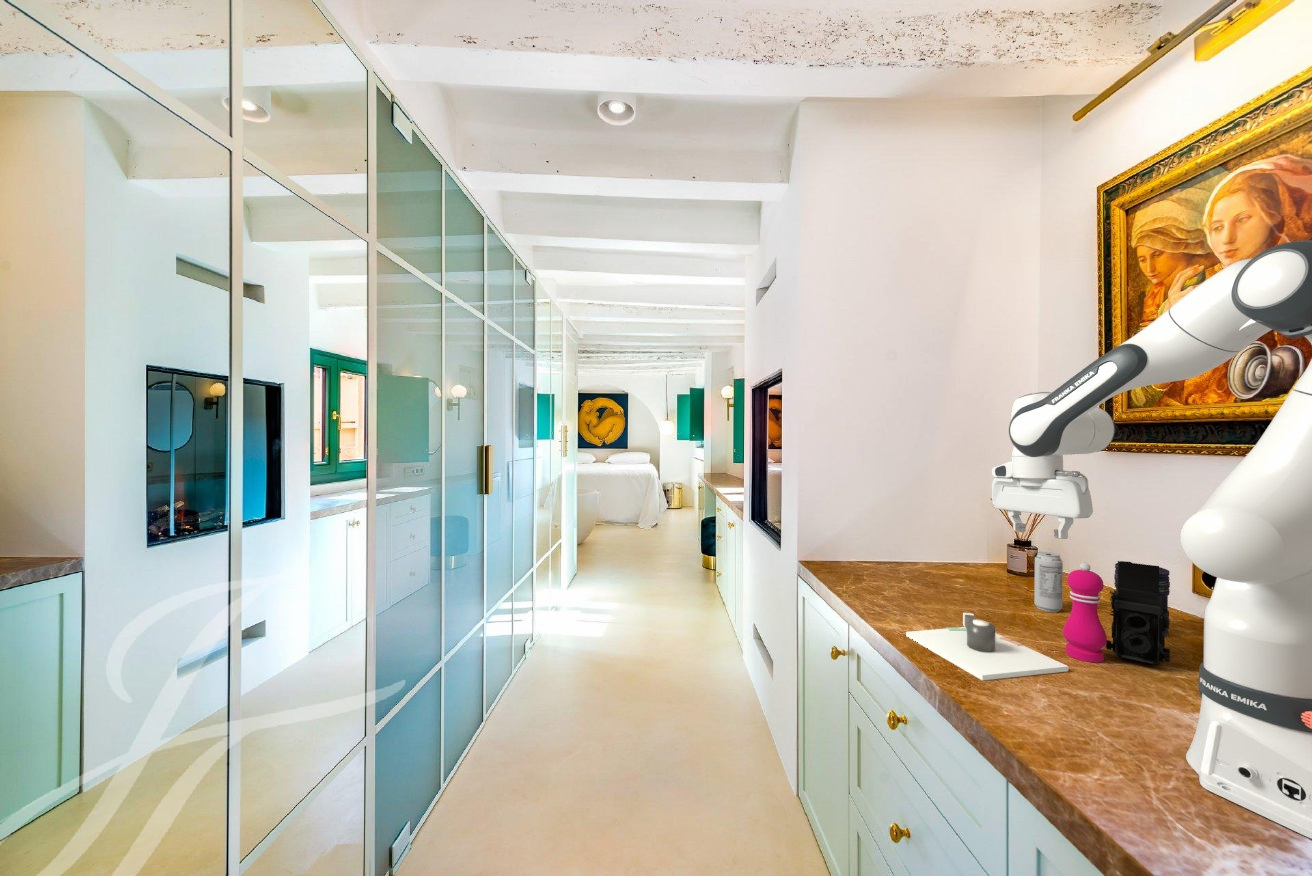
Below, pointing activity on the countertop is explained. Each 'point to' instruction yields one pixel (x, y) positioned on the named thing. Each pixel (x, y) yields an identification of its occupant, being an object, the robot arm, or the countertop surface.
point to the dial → (979, 633)
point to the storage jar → (1163, 589)
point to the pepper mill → (1085, 616)
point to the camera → (1138, 615)
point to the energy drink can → (1048, 581)
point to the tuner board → (986, 655)
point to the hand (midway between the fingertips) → (1039, 534)
